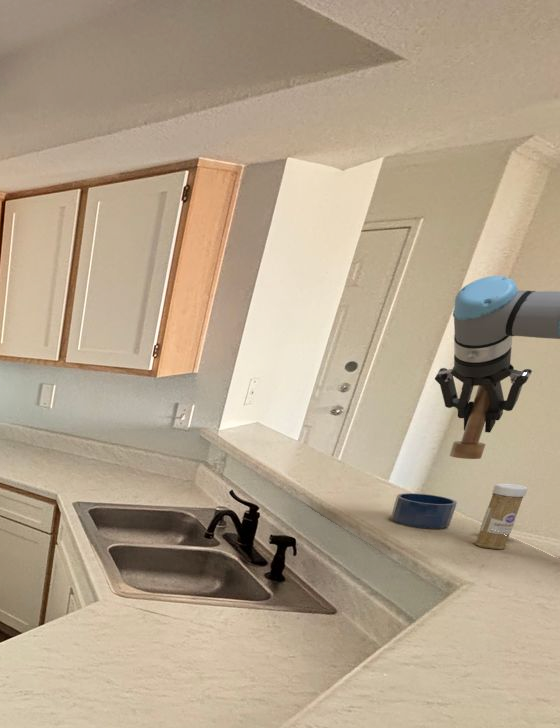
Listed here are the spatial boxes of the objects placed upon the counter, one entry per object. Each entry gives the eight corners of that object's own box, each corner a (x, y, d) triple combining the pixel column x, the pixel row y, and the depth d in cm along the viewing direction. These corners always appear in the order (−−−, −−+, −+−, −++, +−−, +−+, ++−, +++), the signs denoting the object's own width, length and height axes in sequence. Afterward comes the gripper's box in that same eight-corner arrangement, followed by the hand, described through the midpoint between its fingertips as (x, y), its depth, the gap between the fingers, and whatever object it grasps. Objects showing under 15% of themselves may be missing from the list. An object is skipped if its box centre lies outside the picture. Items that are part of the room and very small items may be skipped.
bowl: (450, 522, 140) (458, 498, 138) (446, 532, 133) (455, 507, 131) (393, 514, 147) (400, 491, 145) (387, 523, 140) (394, 499, 138)
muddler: (481, 456, 127) (510, 367, 121) (480, 459, 124) (509, 369, 118) (450, 453, 130) (477, 367, 124) (448, 457, 127) (475, 369, 121)
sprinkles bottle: (493, 551, 122) (516, 488, 118) (468, 543, 126) (489, 483, 122) (511, 548, 123) (534, 486, 118) (485, 541, 127) (506, 481, 123)
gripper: (419, 364, 119) (423, 436, 133) (534, 365, 106) (525, 444, 120) (435, 335, 120) (438, 410, 134) (551, 333, 107) (540, 416, 121)
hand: (479, 426), depth 127 cm, fingers closed on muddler, 3 cm apart
